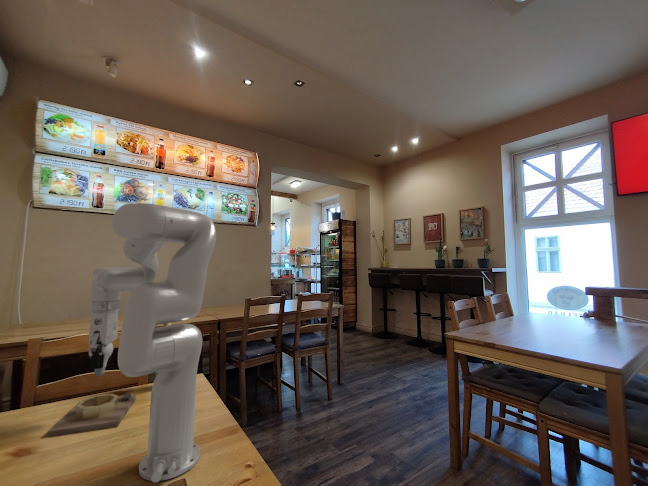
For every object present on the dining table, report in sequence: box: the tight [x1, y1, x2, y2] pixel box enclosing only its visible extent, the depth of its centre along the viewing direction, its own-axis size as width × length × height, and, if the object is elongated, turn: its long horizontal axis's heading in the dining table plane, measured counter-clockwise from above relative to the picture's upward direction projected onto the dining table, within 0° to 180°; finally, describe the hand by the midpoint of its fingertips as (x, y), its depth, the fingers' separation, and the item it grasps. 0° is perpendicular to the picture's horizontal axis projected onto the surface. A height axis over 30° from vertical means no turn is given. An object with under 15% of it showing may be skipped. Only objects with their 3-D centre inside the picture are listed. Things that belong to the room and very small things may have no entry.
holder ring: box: [75, 393, 120, 420], centre depth 89 cm, size 10×10×3 cm
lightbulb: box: [88, 342, 114, 377], centre depth 90 cm, size 6×6×11 cm
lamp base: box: [47, 392, 137, 438], centre depth 88 cm, size 18×16×3 cm
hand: (100, 364), depth 90 cm, fingers closed on lightbulb, 5 cm apart
